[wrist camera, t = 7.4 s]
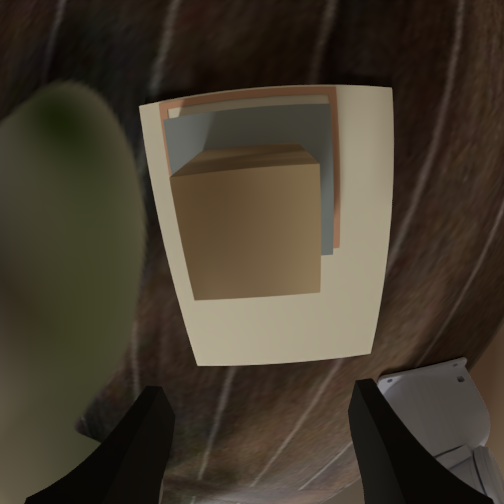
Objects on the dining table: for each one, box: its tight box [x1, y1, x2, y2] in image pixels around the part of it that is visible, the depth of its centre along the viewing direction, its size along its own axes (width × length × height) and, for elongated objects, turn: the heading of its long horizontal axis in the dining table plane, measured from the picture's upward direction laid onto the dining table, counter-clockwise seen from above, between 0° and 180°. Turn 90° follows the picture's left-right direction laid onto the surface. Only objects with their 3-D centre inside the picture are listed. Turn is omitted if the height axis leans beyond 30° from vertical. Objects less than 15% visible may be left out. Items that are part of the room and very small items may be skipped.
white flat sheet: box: [139, 85, 394, 366], centre depth 17 cm, size 13×18×1 cm
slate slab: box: [163, 104, 334, 255], centre depth 14 cm, size 7×7×2 cm
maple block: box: [169, 142, 321, 301], centre depth 11 cm, size 4×4×5 cm
